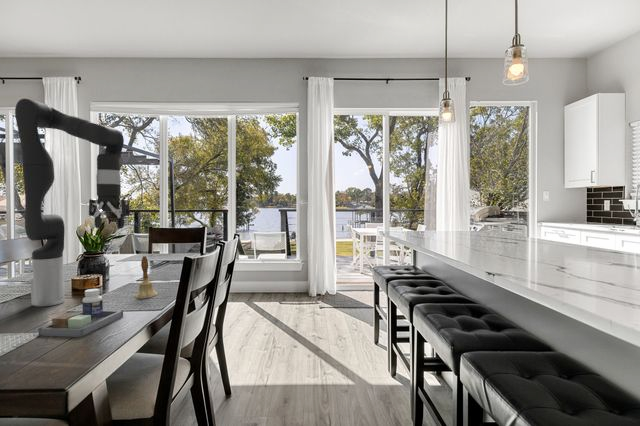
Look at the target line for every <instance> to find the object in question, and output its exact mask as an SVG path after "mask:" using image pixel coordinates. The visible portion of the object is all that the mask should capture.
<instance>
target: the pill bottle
mask: <svg viewBox="0 0 640 426" xmlns="http://www.w3.org/2000/svg"><path fill="white" fill-rule="evenodd" d="M100 293H101V291H100V288H90V289H86V290H84V296H85V297H83V298H82V302H81V304H82V311H83V315H91V323H94V322H96V321H98V320H101V319H103V310H104V309H103V308H104V305H103V302H104V301H103V297H102V295H100Z"/></svg>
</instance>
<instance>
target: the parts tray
mask: <svg viewBox="0 0 640 426" xmlns="http://www.w3.org/2000/svg"><path fill="white" fill-rule="evenodd" d="M73 315H76V316H77V315H83V310H82V311H80V312H77V313H75V314H73ZM121 318H124V310H109V309H108V310H106V309H105V310H104V309H103V319H101V320H98V321H96V322H94V323H91V324H90V325H87V326H85V327H83V328H81V329H73V328H52V322H51V323H49V324H46V325H44V326H42V327H39V328H38V330H37V331H38V336H41V337H42V336H43V337H44V336H45V337H70V338H71V337H72V338H82V337H84V336H86V335H88V334H90V333H92V332H94V331H96V330H99V329H100V328H103V327H105V326H107V325H108V324H111V323H113V322H115V321H118V320H119V319H121Z"/></svg>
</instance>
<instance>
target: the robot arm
mask: <svg viewBox="0 0 640 426" xmlns="http://www.w3.org/2000/svg"><path fill="white" fill-rule="evenodd" d="M14 114H15V115H14V116H15V121H16V127H17V131H18V135H19V142H20V150H21V159H22V160H21V163H22V177H23V186H24V200H25V201H24V203H25V204H24V206H25V207H24V229H25V234H26V236H27V238H28V239H29V240H30V241H35V242H36V241H44V240H46V242H45V244H44V245H42V246H40V247H39V248H36V249H35V250H33V251H32V252H31V258H32V261H31V262H32V263H31V264H32V278H31V279H30V299H31V306H34V307H40V308H41V307H49V306H57V305H60V304H62V303H64V302H65V284H64V283H65V279H64V276H65V275H64V256H63V255H64V254H63V253H64V250H65V223H64V219H63V218H62V216H61V215H59V214H42V206H43V201H44V199H45V197H46V196H47V194H48V191H50V189H51V187H52V185H53V184H54V182H55V168H54V167H55V165H54V161H53V158H52V157H51V155H50V153H49V152H48V150H47V149H46V147H45V146H44V144H43V143H42V141H41V138H40V134H39V129H38V128H41V129H42V128H43V129H45V128H46V129H51V130H59V131H62V132H64V133H66V134H67V135H68V134H69V135H70V136H73V137H76V138H78V139H82V140H85V141H87V142H89V143H92V144H94V145H96V146H101V147H105V150H104V153H99V154H98V155H97V156H96V175H95V176H96V177H95V179H96V196H97V199H96V198H95V199H94V198H91V199H88V201H89V203H88V216H91V217H93V218H94V227H95V228H96V229H101V228H103V224H102V220H103V219H102V216H103V215H104V214H105V213H106V212H112V213H113V214H114V215H116V216H117V218H116V221H117V222H116V223H117V224H116V226H117V229H124V227H125V218H126V217H129V216H130V201H129V199H121V195H122V193H121V192H122V189H121V187H122V186H121V183H122V182H121V173H120V169H121V168H120V158H121V155H122V152H123V146H124V142H125V139H124V135H123V133H122V131H120V130H119V129H117V128H115V127H110V126H107V125H102V124H98V123H95V122H94V121H91V120H87V119H85V118H81V117H78V116H74V115H68V114H66V113H63V112H61V111H59V110H57V109H55V108H54V107H52V106H50V105H48V104H46V103H44V102H39V101H36V100H34V99H30V98H22V99H19V100H18V101H17V103H16V105H15V108H14ZM120 206H121V207H120Z"/></svg>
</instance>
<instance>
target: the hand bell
mask: <svg viewBox="0 0 640 426" xmlns="http://www.w3.org/2000/svg"><path fill="white" fill-rule="evenodd" d="M140 263H141V264H140V267H141V270H142V279H143V280H142V281H141V282H140V283H139V286H138V287H139V288H138V290H137V293H136V294H135V295H134V298H135V299H149V298H153V297H156V296H158V292H156V291H155V289H154V286H153V282H152V281H150V280H149V276H148V269H149V260H148V257H147V256H146V255H145V256H142V258H141V262H140Z"/></svg>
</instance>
